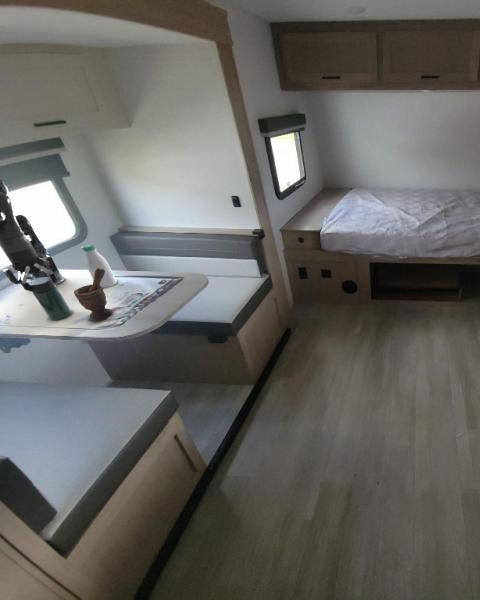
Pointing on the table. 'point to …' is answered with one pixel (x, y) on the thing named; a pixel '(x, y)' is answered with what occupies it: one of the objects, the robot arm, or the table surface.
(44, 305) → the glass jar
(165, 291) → the table surface
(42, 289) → the lid
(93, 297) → the mortar and pestle
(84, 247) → the milk bottle
